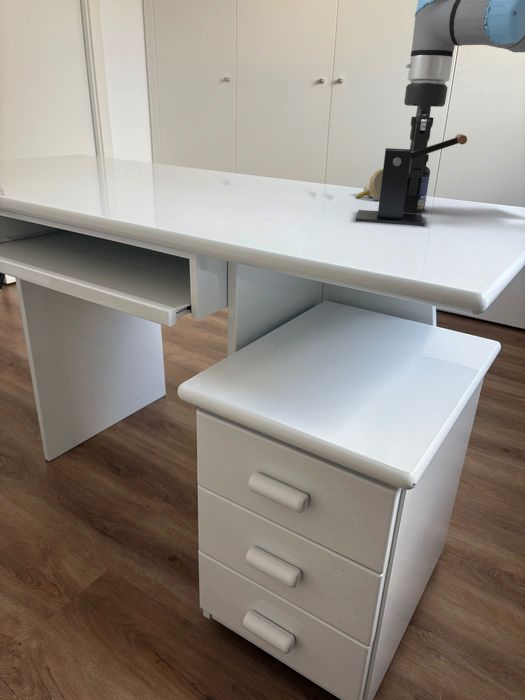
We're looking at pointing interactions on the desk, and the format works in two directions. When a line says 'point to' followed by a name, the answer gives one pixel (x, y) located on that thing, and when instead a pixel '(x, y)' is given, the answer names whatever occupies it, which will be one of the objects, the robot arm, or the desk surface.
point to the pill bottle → (423, 186)
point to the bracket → (393, 192)
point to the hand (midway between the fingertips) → (409, 208)
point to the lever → (440, 146)
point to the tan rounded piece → (372, 186)
